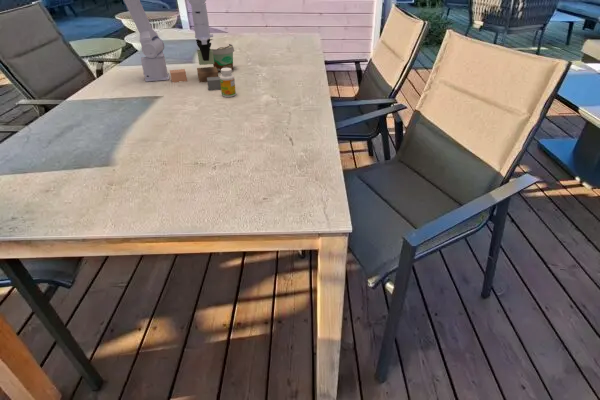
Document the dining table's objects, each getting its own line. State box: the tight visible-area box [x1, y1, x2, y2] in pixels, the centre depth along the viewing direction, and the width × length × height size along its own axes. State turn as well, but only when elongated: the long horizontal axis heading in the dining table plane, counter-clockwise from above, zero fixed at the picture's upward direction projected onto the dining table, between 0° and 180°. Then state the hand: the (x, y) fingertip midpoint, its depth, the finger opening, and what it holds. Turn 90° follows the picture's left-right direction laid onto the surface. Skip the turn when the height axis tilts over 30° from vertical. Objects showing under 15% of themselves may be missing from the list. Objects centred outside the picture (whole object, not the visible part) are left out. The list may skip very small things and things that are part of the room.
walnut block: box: [196, 66, 220, 83], centre depth 160 cm, size 8×8×4 cm
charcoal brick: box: [206, 76, 221, 91], centre depth 150 cm, size 6×4×4 cm, turn 103°
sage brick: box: [197, 48, 214, 66], centre depth 156 cm, size 6×4×5 cm, turn 106°
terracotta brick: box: [169, 68, 188, 83], centre depth 158 cm, size 6×4×4 cm, turn 110°
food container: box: [211, 43, 235, 73], centre depth 168 cm, size 12×6×10 cm, turn 143°
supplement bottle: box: [219, 68, 237, 98], centre depth 142 cm, size 5×5×10 cm
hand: (205, 59), depth 156 cm, fingers closed on sage brick, 4 cm apart
